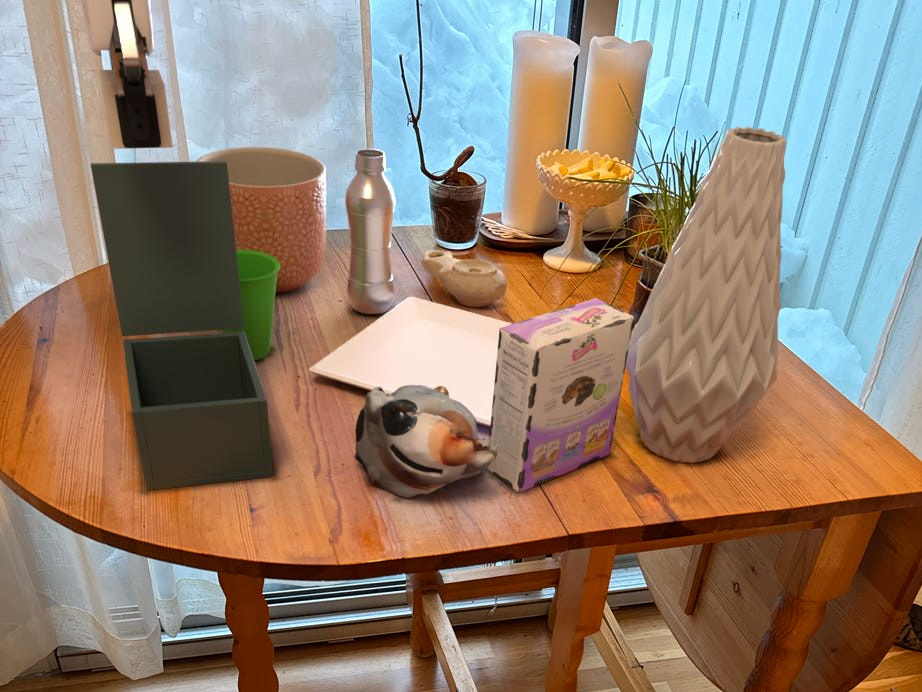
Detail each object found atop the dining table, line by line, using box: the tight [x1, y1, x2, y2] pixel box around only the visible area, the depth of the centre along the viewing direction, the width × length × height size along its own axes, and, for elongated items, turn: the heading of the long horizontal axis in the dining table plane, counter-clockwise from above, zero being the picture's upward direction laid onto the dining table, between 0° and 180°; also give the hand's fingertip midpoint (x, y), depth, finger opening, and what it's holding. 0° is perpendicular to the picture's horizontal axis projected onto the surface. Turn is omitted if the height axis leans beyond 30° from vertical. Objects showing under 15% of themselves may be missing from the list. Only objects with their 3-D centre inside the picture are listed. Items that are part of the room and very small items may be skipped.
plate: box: [308, 296, 513, 428], centre depth 119 cm, size 26×26×2 cm
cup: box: [221, 250, 280, 361], centre depth 115 cm, size 9×9×11 cm
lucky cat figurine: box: [354, 385, 498, 499], centre depth 96 cm, size 15×12×14 cm
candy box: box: [485, 297, 635, 493], centre depth 99 cm, size 14×6×16 cm, turn 130°
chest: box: [122, 332, 274, 491], centre depth 99 cm, size 16×13×9 cm
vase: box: [625, 126, 787, 464], centre depth 99 cm, size 17×17×33 cm
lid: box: [90, 161, 244, 337], centre depth 98 cm, size 16×13×5 cm
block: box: [98, 69, 174, 150], centre depth 83 cm, size 5×5×5 cm
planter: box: [195, 146, 327, 294], centre depth 131 cm, size 17×17×15 cm
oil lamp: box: [421, 249, 508, 308], centre depth 135 cm, size 11×14×5 cm
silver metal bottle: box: [344, 148, 396, 315], centre depth 124 cm, size 6×7×20 cm
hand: (139, 134), depth 85 cm, fingers closed on block, 5 cm apart
